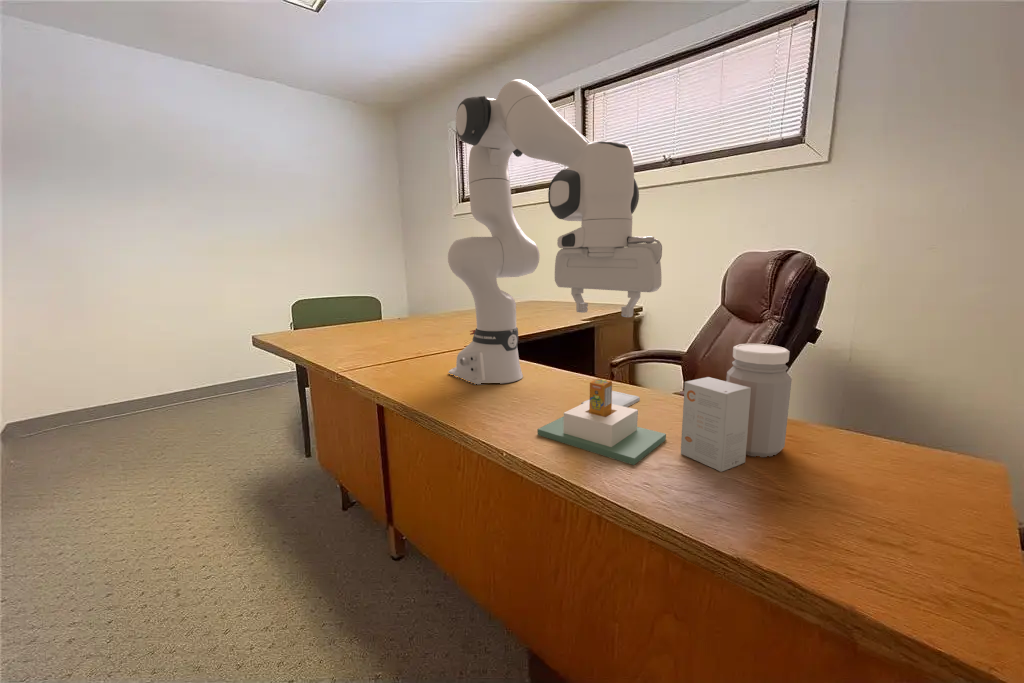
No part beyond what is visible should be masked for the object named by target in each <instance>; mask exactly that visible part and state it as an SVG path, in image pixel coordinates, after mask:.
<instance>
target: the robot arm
mask: <svg viewBox="0 0 1024 683" xmlns="http://www.w3.org/2000/svg"><path fill="white" fill-rule="evenodd" d="M498 92H499V93H498V95H497V97H496V98H490V97H486V96H485V95H483V96H471V97H467V98H464V99H463V100H462V101H461V102H460V103H459V105H458V107H457V109H456V110H457V111H456V114H455V115H456V116H455V130H456V133H457V136H458V137H459V139H460V141H461V142H463V143H465V144H468V145H470V146H472V147H471V148H470V149H469V150H470V151H469V157H468V172H467V173H468V190H469V192H468V193H469V203H470V205H469V206H470V212H471V215H472V216H473V218H474V220H476V221H477V222H478V223H480V224H482V225H484V226H485V227H486V228H487V229H488V230H489V232H490V235H491V236H469V237H464V238H460V239H456V240H455V241H453V242H452V244H451V245H450V247H449V250H448V251H447V252H448V253H447V262H448V266H449V268H450V271H452V273H453V274H454V275H455V276H456V277H458V278H459V279H460V280H461V281H462V282H464V284H465V285H466V286H467V287H468V289H469V291H470V293H471V295H472V298H473V300H474V307H475V318H476V328H475V329H472V330H469V332H471V333H469V335H470V336H473V337H472V341H471V342H470V343H468V345H466V346H465V347H464V348H463V349H462V350H460V351H459V352H458V353H457V355H456V366H455V367H453V368H451V369H449V370H448V373H450V374H453V375H455V376H458V377H460V378H463V379H465V380H467V381H470V382H472V383H475V384H474V385H476V384H477V385H482V384H481V383H500V384H509V383H513V382H516V381H520V380H521V379H523V377H524V375H523V372H522V368H521V362H520V357H519V356H520V354H519V350H518V342H519V328H518V327H517V302H516V300H515V298H514V297H513V296H512V295H511V294H509V293H508V292H506V291H504V290H502V289H500V287H499V285H498V281H497V280H498V279H502V278H519V277H523V276H527V275H530V274H533V273H534V272H535V271H536V269H537V268H538V266H539V263H540V256H541V255H540V250H539V247H538V246H537V244H536V242H535V241H534V240H533V239H532V238H530V237H529V236H528V235H527V234H526V233H525V232H524V231H523V230H522V228H521V226H520V225H519V223H518V221H517V219H516V216H515V212H514V207H513V200H512V192H511V190H512V189H511V180H510V172H509V171H510V170H509V161H510V157H511V155H512V154H513V155H514V156H516V157H517V158H519V157H521V156H522V155H524V156H527V157H529V158H531V159H536V160H539V161H546V162H550V163H555V164H558V165H559V164H560V165H563V166H565V167H567V168H565V169H561V170H560V171H559V172H557V173H556V174H555V175H554V177H553V178H552V179H551V181H550V184H549V186H548V192H547V193H548V194H547V195H548V196H547V197H548V204H549V207H550V210H551V212H552V213H553V215H554V216H555V217H556V218H557V219H558V220H562V221H563V220H564V221H568V222H581V224H580V225H581V226H580V227H578V228H575V229H574V230H572V231H569V232H567V233H565V234H562V235H560V236H559V237H558V238H557V244H556V245H557V247H558V248H559V249H560V250H558V252H557V253H556V255H555V260H554V261H555V263H554V282H555V284H556V285H557V287H558V288H563V289H565V288H566V289H569V288H570V289H571V291H570V293H571V294H570V295H571V297H572V298H573V300H574V302H575V304H576V310H575V311H576V313H581V314H582V313H588V310H589V308H588V306H589V302H585V301H584V297H583V295H582V294H583V293H584V289H585V290H599V291H601V290H603V291H604V290H605V291H616V292H617V291H619V292H620V291H621V292H627V298H630V299H629V300H628V302H627V304H626V305H625V306H621V315H620V316H621V317H624V318H632V317H633V316H634V309H635V308H634V307H635V306H636V304H637V303H638V301H639V300H640V299H641V293H654V292H657V291H658V290H659V289H661V286H662V265H661V259H662V256H663V244H662V243H661V242H660V240H658V239H657V238H655V236H651V235H649V236H633V214H634V212H635V211H636V208H637V206H638V203H639V200H640V190H639V187H638V183H637V181H636V180H635V165H634V156H633V152H632V149H631V147H630V146H629V144H626V143H624V142H620V141H613V140H612V141H611V140H609V141H607V140H594V141H590V140H589V139H588V138H587V137H586V136H584V135H583V134H582V133H581V132H580V131H578V130H577V129H575V127H574V126H572V125H571V124H570V123H569V122H568V121H567V120H566V119H564V117H563V116H561V114H560V113H558V111H557V110H556V109H555V108H554V107H553V106H552V105H551V103H550V102H549V101H548V99H547V98H546V97H545V96H544V95H543V94H542V92H540V91H539V90H538V89H537V88H536V87H535V86H534V85H533V84H531V83H529V82H528V81H527V80H523V79H513V80H510V81H508V82H507V83H506V84H504V85H503V86H502V88H501V89H500V91H498ZM467 381H466V382H467ZM472 383H471V384H472Z"/></svg>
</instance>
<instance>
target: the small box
mask: <svg viewBox="0 0 1024 683" xmlns="http://www.w3.org/2000/svg"><path fill="white" fill-rule="evenodd" d="M750 394H751V388H750V387H746V386H742V385H738V384H734V383H730V382H727V381H726V380H721V379H718V378H714V377H710V376H706V377H701V378H696V379H692V380H687V381H684V390H683V404H682V406H683V407H682V424H681V440H680V441H681V443H680V454H681V455H683V456H685V457H687V458H689V459H692V460H694V461H696V462H697V463H698V462H699V463H701V464H702V465H705V466H707V467H710V468H712V469H714V470H716V471H719V472H720V473H723V472H725V471H727V470H729V469H732V468H735V467H737V466H740V465H743V464H744V463H746V457H747V455H746V445H747V433H748V419H749V407H750Z"/></svg>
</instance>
